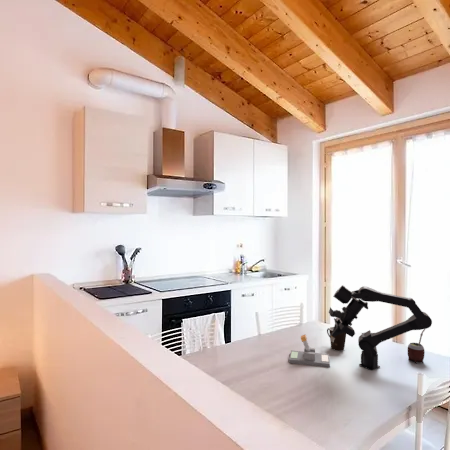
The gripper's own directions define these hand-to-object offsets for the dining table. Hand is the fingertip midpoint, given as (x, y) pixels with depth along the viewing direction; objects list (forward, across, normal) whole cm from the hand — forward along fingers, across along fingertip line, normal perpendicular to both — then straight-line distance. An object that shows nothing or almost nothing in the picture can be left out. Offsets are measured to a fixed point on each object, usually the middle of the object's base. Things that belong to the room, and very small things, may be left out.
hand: (332, 336), depth 164 cm
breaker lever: (+13, +1, -4) cm, 14 cm away
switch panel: (+15, +2, -2) cm, 16 cm away
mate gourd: (-11, -2, +41) cm, 42 cm away
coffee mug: (+9, -16, +14) cm, 23 cm away
